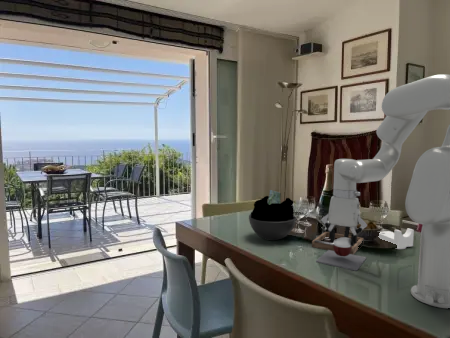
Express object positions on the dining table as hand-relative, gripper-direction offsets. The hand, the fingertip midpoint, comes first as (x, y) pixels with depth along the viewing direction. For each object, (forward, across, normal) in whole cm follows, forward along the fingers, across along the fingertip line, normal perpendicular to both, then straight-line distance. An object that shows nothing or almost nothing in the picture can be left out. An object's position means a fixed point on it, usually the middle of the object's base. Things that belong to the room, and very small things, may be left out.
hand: (342, 242), depth 123 cm
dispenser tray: (+6, +6, -16) cm, 18 cm away
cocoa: (+4, 0, 0) cm, 4 cm away
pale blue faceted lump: (+7, +50, -40) cm, 64 cm away
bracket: (+7, -12, -32) cm, 35 cm away
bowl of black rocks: (+7, +32, -8) cm, 34 cm away
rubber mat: (+7, 0, 0) cm, 7 cm away
